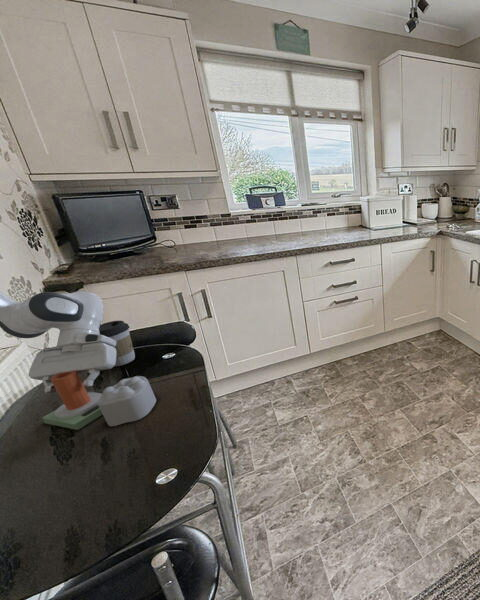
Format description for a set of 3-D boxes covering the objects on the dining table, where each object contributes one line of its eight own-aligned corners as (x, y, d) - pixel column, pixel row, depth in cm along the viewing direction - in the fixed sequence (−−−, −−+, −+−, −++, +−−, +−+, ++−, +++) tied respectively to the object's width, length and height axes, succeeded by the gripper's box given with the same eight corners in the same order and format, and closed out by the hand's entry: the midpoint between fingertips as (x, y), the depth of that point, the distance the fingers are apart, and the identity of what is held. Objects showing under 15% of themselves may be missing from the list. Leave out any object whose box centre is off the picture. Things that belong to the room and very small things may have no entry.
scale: (44, 423, 92) (40, 415, 91) (92, 396, 103) (88, 389, 102) (77, 430, 88) (73, 422, 87) (123, 401, 99) (119, 394, 98)
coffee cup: (145, 358, 124) (130, 323, 119) (107, 373, 116) (89, 335, 111) (138, 350, 131) (123, 316, 126) (102, 363, 124) (85, 328, 118)
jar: (62, 408, 93) (46, 379, 90) (83, 397, 98) (68, 368, 94) (74, 410, 92) (58, 381, 88) (95, 399, 97) (80, 370, 93)
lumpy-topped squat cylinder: (102, 429, 88) (88, 402, 85) (123, 400, 100) (112, 376, 96) (146, 417, 91) (135, 392, 88) (162, 391, 102) (152, 367, 99)
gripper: (28, 346, 93) (15, 394, 88) (107, 334, 97) (100, 380, 91) (48, 352, 99) (37, 398, 94) (122, 340, 102) (116, 384, 97)
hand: (68, 389), depth 92 cm, fingers open, 8 cm apart
